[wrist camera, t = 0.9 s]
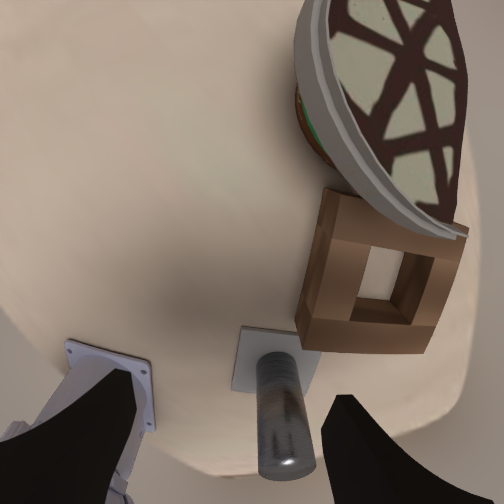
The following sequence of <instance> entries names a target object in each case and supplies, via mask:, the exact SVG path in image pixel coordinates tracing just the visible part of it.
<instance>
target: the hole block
mask: <svg viewBox="0 0 504 504" xmlns="http://www.w3.org/2000/svg"><path fill="white" fill-rule="evenodd" d="M452 225H453V226H455V227H456V228H458V229H459V230H461V231H463V232H464V233H466V234H467V235H468V231H469V228H468V227H466V226H463V225H461V224H458V223H456V222H453V224H452ZM466 239H467V237H463V236H460V235H457V236H456V240H451V239H443V238H436V237H431V236H427V235H423V234H418V233H416V232H413V231H411V230H409V229H407V228H404V227H402V226H400V225H398V224H396V223H395V222H393V221H392V220H390V219H389V218H387V217H386V216H384V215H383V214H381V213H380V212H378V211H377V210H376V209H375V208H374V207H372V206H371V205H370V204H369V203H368V202H367V201H366V200H365V199H364V198H362V197H361V196H360V195H356V194H351V193H347V192H342V191H338V190H333V189H328V188H324V191H323V196H322V201H321V206H320V211H319V216H318V221H317V226H316V231H315V235H314V240H313V245H312V249H311V254H310V258H309V263H308V267H307V271H306V276H305V280H304V284H303V288H302V292H301V297H300V301H299V305H298V309H297V313H296V316H295V324H296V328H297V332H298V335H299V339H300V343H301V347H302V350H308V351H321V352H338V353H361V354H424V352H425V350H426V347H427V345H428V343H429V341H430V339H431V337H432V334H433V332H434V330H435V328H436V325H437V323H438V321H439V318H440V316H441V313H442V311H443V308H444V306H445V303H446V301H447V298H448V295H449V293H450V290H451V287H452V284H453V282H454V279H455V276H456V273H457V270H458V266H459V263H460V260H461V257H462V253H463V250H464V246H465V243H466ZM371 246H376V247H382V248H387V249H393V250H398V251H403V252H405V254H404V258H403V261H402V265H401V268H400V271H399V275H398V278H397V281H396V284H395V287H394V290H393V293H392V296H391V299H390V301H387V300H377V299H368V298H359V297H357V294H358V291H359V288H360V284H361V281H362V278H363V274H364V271H365V267H366V264H367V260H368V256H369V252H370V249H371Z"/></svg>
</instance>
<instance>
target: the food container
mask: <svg viewBox="0 0 504 504" xmlns="http://www.w3.org/2000/svg"><path fill="white" fill-rule="evenodd" d="M294 64H295V71H296V76H297V81H298V82H297V87H296V93H295V107H296V113H297V118H298V121H299V124H300V127H301V130H302V131H303V133H304V135H305V137H306V139H307V141H308V142H309V144H310V145H311V146H312V148H313V149H314V151H315V152H316V153H317V154H318V155H319V156H320V157H321V158H322V159H323V160H324V161H326V162H327V163H328V164H329V165H331V166H332V167H333V168H335V169H336V170H338V171H339V172H340V173H341V174H342V175H343V177H344V178H345V179H346V180H347V181H348V182H349V184H350V185H351V186H352V187H353V188H354V189H355V191H356V192H357V193H358V194H359V195H360V196H361V197H362V198H364V199H365V200H366V201H367V202H368V203H369V204H370V205H371V206H372V207H374V208H375V209H376V210H377V211H378V212H380V213H381V214H383V215H384V216H386V217H387V218H389V219H390V220H392V221H393V222H395V223H396V224H398V225H400V226H402V227H404V228H407V229H409V230H411V231H413V232H416V233H418V234H423V235H427V236H431V237H436V238H443V239H451V240H456V236H457V235H460V236H463V237H467V238H468V236H469V235H467V234H466V233H464V232H463V231H461V230H459V229H458V228H456V227H455V226H453V225H452V224H453V219H454V213H455V209H456V206H457V189H458V177H459V169H460V160H461V149H462V141H463V133H464V126H465V118H466V107H467V93H468V75H467V69H466V63H465V57H464V53H463V49H462V45H461V41H460V37H459V34H458V30H457V26H456V22H455V19H454V13H453V8H452V3H451V0H305V2H304V4H303V7H302V9H301V12H300V14H299V17H298V19H297V25H296V31H295V37H294Z"/></svg>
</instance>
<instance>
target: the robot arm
mask: <svg viewBox="0 0 504 504" xmlns="http://www.w3.org/2000/svg"><path fill="white" fill-rule="evenodd" d="M64 345H65V349H66V354H67V358H68V362H69V366H70V371H69V372H68V374H67V375H66V377H65V378H64V379H63V381H62V382H61V384H60V385H59V386H58V388H57V389H56V391H55V392H54V394H53V395H52V396H51V398H50V399H49V401H48V402H47V404H46V405H45V407H44V408H43V410H42V411H41V413H40V414H39V416H38V417H37V419H36V420H35V422H34V423H33V424H32V425H31V426H29V425H28V424H27V423H26V422H25V421H21V422H19V421H13V422H12V423H11V424H10V426H9V427H8V428H7V429H6V431H5V432H4V434H3V435H2V436H1V438H0V504H134V502H133V500H132V498H131V497H130V496H129V495H128V494H126V493H125V492H126V488H127V485H128V482H127V481H126V480H127V479H128V477H129V476H130V474H131V472H132V469H133V465H134V462H135V459H136V456H137V452H138V449H139V447H140V444H141V441H142V438H143V435H144V432H145V431H147V432H155V430H156V426H155V417H154V406H153V395H152V382H151V366H150V364H149V363H148V362H147V361H145V360H141V359H137V358H133V357H129V356H125V355H121V354H117V353H113V352H109V351H106V350H102V349H98V348H95V347H92V346H88V345H85V344H82V343H78V342H75V341H72V340H66V341H65V343H64ZM70 349H71V350H70ZM143 370H145V371H146V372H145V371H143ZM321 436H322V447H323V454H324V459H325V463H326V467H327V471H328V476H329V480H330V484H331V489H332V493H333V497H334V502H335V504H494V502H493V501H492V500H490V499H486V498H483V497H480V496H477V495H474V494H471V493H469V492H466V491H464V490H461V489H460V488H457V487H455V486H453V485H451V484H450V483H448V482H446V481H444V480H442V479H441V478H439V477H438V476H436V475H434V474H433V473H431V472H430V471H428V470H427V469H426V468H424V467H423V466H422V465H420V464H419V463H418V462H417V461H415V460H414V459H413V458H411V457H410V456H409V455H408V454H407V453H406V452H405V451H404V450H403V449H402V448H401V447H399V446H398V445H397V444H396V443H395V442H394V441H393V440H392V439H391V438H390V437H389V436H388V435H387V433H386V432H385V431H384V430H383V429H382V428H381V427H380V426H379V425H378V424H377V422H376V421H375V420H374V419H373V418H372V417H371V416H370V414H369V413H368V412H367V411H366V410H365V409H364V407H363V406H362V405H361V404H360V403H359V402H358V400H357V399H356V398H355V397H354V396H353V395H352V394H350V395H336V398H335V400H334V402H333V404H332V407H331V409H330V411H329V413H328V415H327V417H326V420H325V422H324V424H323V426H322V428H321Z"/></svg>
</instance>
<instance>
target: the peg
mask: <svg viewBox="0 0 504 504" xmlns="http://www.w3.org/2000/svg"><path fill="white" fill-rule="evenodd" d="M256 390H257V435H258V472H259V474H260V475H261V476H262V477H263V478H265V479H268V480H273V481H290V480H296V479H299V478H302V477H305V476H307V475H309V474H310V473H312V472H313V471H314V470H315V468H316V460H315V455H314V450H313V444H312V439H311V434H310V429H309V423H308V418H307V413H306V408H305V403H304V398H303V393H302V388H301V383H300V378H299V373H298V368H297V363H296V360H295V359H294V357H293V356H291V355H290V354H288V353H285V352H279V351H277V352H271V353H268V354H265V355H264V356H262V357H261V358H260V359H259V360H258V362H257V364H256Z"/></svg>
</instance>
